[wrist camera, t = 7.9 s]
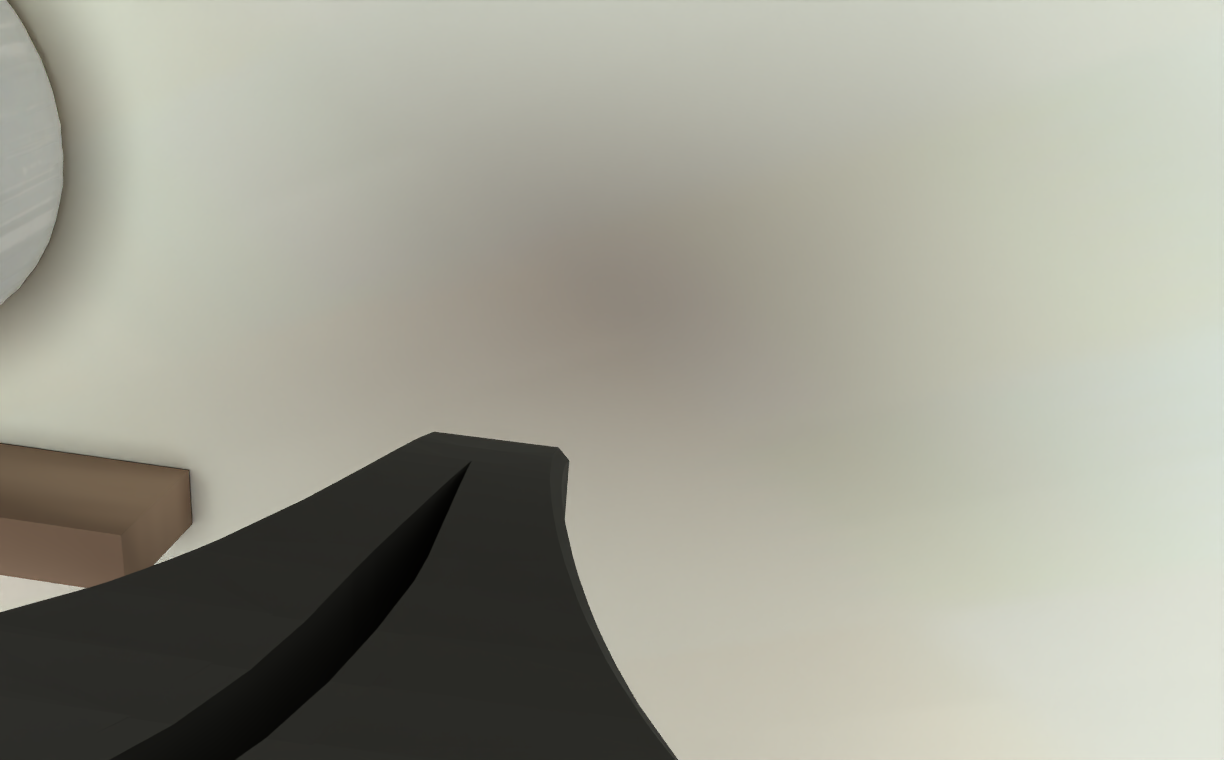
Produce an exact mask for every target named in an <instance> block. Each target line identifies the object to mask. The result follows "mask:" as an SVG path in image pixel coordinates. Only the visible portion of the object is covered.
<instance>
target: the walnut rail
mask: <svg viewBox="0 0 1224 760" xmlns="http://www.w3.org/2000/svg"><path fill="white" fill-rule="evenodd" d="M191 525H192V516H191V500H190V483H189V470H182V469H175V468H168V467H161V466H154V465H147V464H140V463H133V462H126V461H119V460H112V459H105V458H98V457H91V456H84V455H77V454H70V453H63V452H56V451H49V450H42V449H35V448H28V447H21V446H14V445H7V444H0V575H5V576H12V577H19V578H25V579H32V580H38V581H45V582H51V583H58V584H65V585H71V586H78V587H84V588H90V587H93V586H96V585H99V584H102V583H105V582H108V581H111V580H114V579H117V578H120V577H123V576H125V575H128V574H131V573H134V572H137V571H139V570H142V569H145V568H148V567H151V566H153V565H154V564H155V563H156V562H157V561H158V560H159V559H160V558H161V557H162V555H163V554H164V553H165V552H166V551H167V550H168V549H169V548H170V547H171V546H172V545H173V544H174V543H175V542H176V541H177V540H178V539H179V537H180V536H181V535H182V534H183V533H184V532H185V531H186V530H187V529H188V528H189V527H190V526H191Z"/></svg>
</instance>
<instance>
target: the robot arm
mask: <svg viewBox="0 0 1224 760" xmlns="http://www.w3.org/2000/svg"><path fill="white" fill-rule="evenodd" d="M568 468H569V460H568V459H567V457H566V456H565V455H564V454H563V452H562V451H561V450H560V449H559V448H558V447H550V446H542V445H534V444H526V443H518V442H510V441H503V440H495V439H487V438H479V437H471V436H463V435H455V434H447V433H439V432H432V433H430V434H427V435H425V436H422V437H420V438H418V439H416V440H414V441H412V442H410V443H408V444H406V445H404V446H402V447H400V448H399V449H397V450H395V451H393V452H391V453H389V454H388V455H386V456H384V457H382V458H380V459H378V460H377V461H375V462H373V463H371V464H369V465H367V466H366V467H364V468H362V469H360V470H358V471H356V472H355V473H353V474H351V475H349V476H347V477H345V478H343V479H341V480H340V481H338V482H336V483H334V484H332V485H330V486H328V487H326V488H325V489H323V490H321V491H319V492H317V493H315V494H313V495H312V496H310V497H308V498H306V499H304V500H302V501H300V502H298V503H296V504H293V505H291V506H289V507H287V508H285V509H283V510H281V511H279V512H277V513H274V514H272V515H270V516H268V517H266V518H264V519H262V520H260V521H257V522H255V523H253V524H251V525H249V526H247V527H245V528H243V529H240V530H238V531H236V532H234V533H232V534H230V535H228V536H226V537H223V538H221V539H219V540H217V541H214V542H212V543H210V544H207V545H205V546H203V547H200V548H198V549H195V550H193V551H190V552H188V553H185V554H183V555H180V556H178V557H175V558H173V559H170V560H168V561H165V562H162V563H159V564H156V565H153V566H151V567H148V568H145V569H142V570H139V571H137V572H134V573H131V574H128V575H125V576H123V577H120V578H117V579H114V580H111V581H108V582H105V583H102V584H99V585H96V586H93V587H90V588H86V589H83V590H79V591H76V592H72V593H68V594H65V595H61V596H58V597H54V598H50V599H47V600H43V601H40V602H36V603H32V604H29V605H25V606H22V607H18V608H14V609H11V610H7V611H4V612H0V760H678V759H677V758H676V756H675V755H674V754H673V752H672V751H671V749H670V748H669V747H668V745H667V744H666V742H665V741H664V740H663V738H662V737H661V735H660V734H659V733H658V731H657V730H656V728H655V727H654V725H653V724H652V723H651V721H650V720H649V718H648V717H647V716H646V714H645V713H644V711H643V710H642V709H641V707H640V706H639V704H638V703H637V701H636V699H635V698H634V696H633V694H632V692H631V691H630V689H629V687H628V685H627V684H626V682H625V680H624V678H623V677H622V675H621V673H620V671H619V670H618V668H617V666H616V664H615V662H614V660H613V658H612V656H611V654H610V652H609V650H608V648H607V646H606V644H605V642H604V640H603V638H602V636H601V634H600V631H599V629H598V627H597V625H596V622H595V620H594V617H593V615H592V612H591V610H590V607H589V605H588V602H587V599H586V596H585V594H584V591H583V588H582V585H581V582H580V579H579V576H578V573H577V570H576V566H575V563H574V559H573V556H572V551H571V547H570V542H569V538H568V534H567V529H566V525H565V508H566V495H567V481H568Z"/></svg>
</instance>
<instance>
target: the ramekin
mask: <svg viewBox="0 0 1224 760" xmlns="http://www.w3.org/2000/svg"><path fill="white" fill-rule="evenodd" d="M62 188H63V149H62V136H61V124H60V120H59V116H58V112H57V107H56V103H55V98H54V94H53V91H52V88H51V85H50V82H49V79H48V76H47V74H46V71H45V68H44V66H43V63H42V61H41V58H40V56H39V54H38V52H37V50H36V48H35V47H34V45H33V43H32V41H31V39H30V37H29V35H28V33H27V31H26V28H25V27H24V25H23V23H22V22H21V20H20V18H19V17H18V15H17V14H16V12H15V11H14V10H13V8H12V7H11V5H10V4H9V3H8V2H7V0H0V305H1V304H2V303H3V302H4V301H5V300H6V299H7V298H8V297H9V296H11V295H12V294H13V293H15V292H16V291H17V290H18V289H19V288H20V287H21V285H22V284H23V282H24V281H25V280H26V278H27V277H28V276H29V274H30V273H31V272H32V271H33V269H34V268H35V267H36V266H37V264H38V262H39V260H40V258H41V256H42V254H43V252H44V250H45V249H46V247H47V245H48V243H49V241H50V237H51V234H52V231H53V228H54V225H55V222H56V218H57V213H58V208H59V204H60V198H61V193H62Z"/></svg>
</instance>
